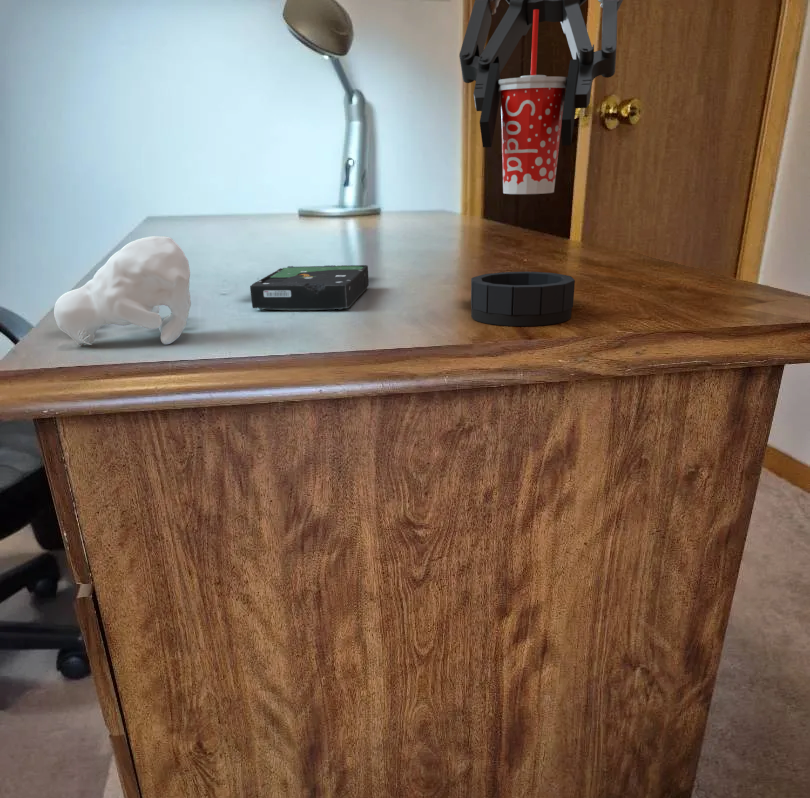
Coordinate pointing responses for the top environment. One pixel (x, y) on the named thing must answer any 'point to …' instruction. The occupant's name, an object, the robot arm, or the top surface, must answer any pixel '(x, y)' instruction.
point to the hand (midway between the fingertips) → (525, 133)
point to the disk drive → (310, 287)
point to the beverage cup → (531, 127)
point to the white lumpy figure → (131, 292)
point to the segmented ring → (522, 298)
